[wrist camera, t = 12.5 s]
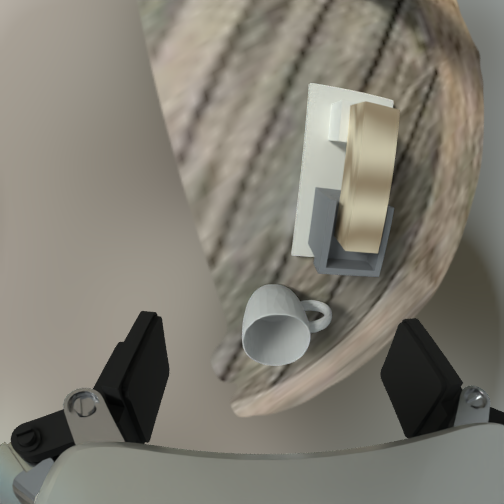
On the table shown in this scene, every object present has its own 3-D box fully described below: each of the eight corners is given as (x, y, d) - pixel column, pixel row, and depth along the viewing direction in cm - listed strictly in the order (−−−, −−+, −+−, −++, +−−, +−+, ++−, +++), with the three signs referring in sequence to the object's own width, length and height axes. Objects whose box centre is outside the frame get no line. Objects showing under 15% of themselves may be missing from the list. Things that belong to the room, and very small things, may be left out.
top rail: (350, 105, 30) (365, 101, 25) (381, 112, 30) (399, 109, 25) (333, 235, 36) (345, 250, 31) (363, 238, 36) (377, 253, 31)
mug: (247, 327, 48) (246, 369, 39) (239, 279, 45) (236, 317, 35) (324, 318, 47) (338, 358, 38) (323, 269, 44) (340, 304, 35)
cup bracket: (308, 84, 34) (324, 70, 26) (390, 100, 34) (422, 95, 26) (291, 252, 43) (300, 281, 35) (367, 258, 43) (389, 286, 35)
